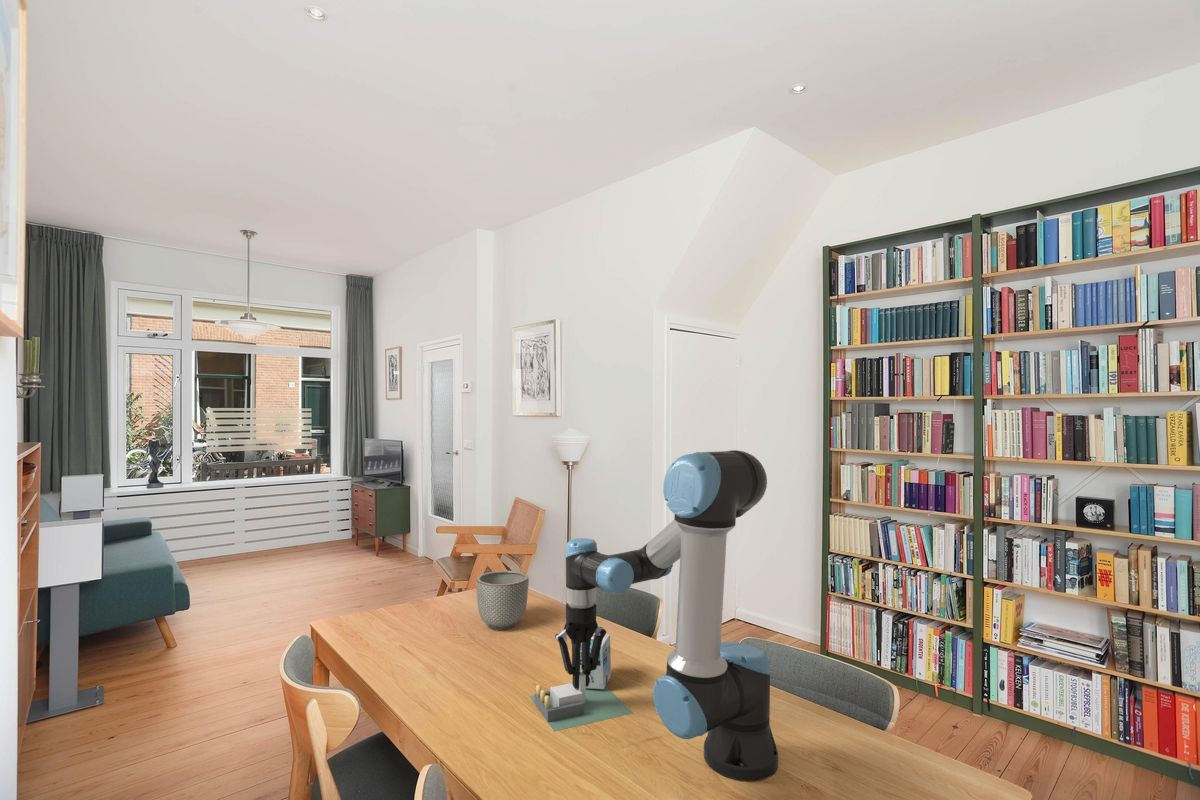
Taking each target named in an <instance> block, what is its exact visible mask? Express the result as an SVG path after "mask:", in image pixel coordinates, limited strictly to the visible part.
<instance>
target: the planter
mask: <svg viewBox="0 0 1200 800" xmlns="http://www.w3.org/2000/svg"><path fill="white" fill-rule="evenodd" d="M529 583H530V581H529V576H528V574H526V573H524V572H521V571H517V570H494V571H489V572H488V571H487V572H484V573H482V574H480V575H478V576H477V577H476V583H475V585H476V599H477V610H478V614H479V616H480V619H481V620H482V621H483V622H484V623H486V624H487V625H488V627H489V628H490V629H492V630H496V631H505V630H507V631H508V630H510V629H512V628H515V626H516V624H517V623H519V621H521V620H522V619H523V617H525V613H526V611H527V604H528V603H527V602H528V597H529V596H528V595H529V585H530V584H529Z"/></svg>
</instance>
